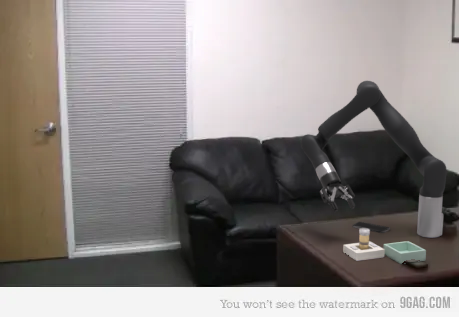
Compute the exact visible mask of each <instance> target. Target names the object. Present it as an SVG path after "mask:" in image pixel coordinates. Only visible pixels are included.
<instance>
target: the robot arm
mask: <svg viewBox="0 0 459 317" xmlns="http://www.w3.org/2000/svg"><path fill="white" fill-rule="evenodd" d="M379 87H380V86H378V84H377V83H375V82H374V81H371V80H364V81H361V82H360V83H358V85H357V88H356V94H355V95H354V97H353V98H352V99H351V100H350V101H349V102H348V103H347V104H346V105H344V106H343V107H342V108H341V109H339V110H338V111H336V112H334V113H333V114H331V115H330V116H329V117H328V118H326V119H325V120H324V122H322V123H321V124H320V125H319V126H318V127H317V131H318V132H317V134H316V135H313V134H310V133H309V134H308V133H307V134H305V135H303V136H302V137H301V139H300V147H301V150H302V151H303V152H304V154H305V155H306V157H307V158H308V159H309V161H310V162H311V164H312V166H313V168H314V171H315V172H316V175H317V178H318V179H319V182H320V183H321V186H322V188H321V190H320V191H319V194H320V197H321V199H322V201H323V203H324V204H325V205H326V204H328V205H329V206H330V208H331V210H332V211H333V213H336V212H338V210H339V207H338V205H337V203H336V201H335V199H337V198H340V199H342V200H343V199H344V200H345V201H347V204H348V206H349V208H350V209H351V210H354V209H355V207H356V203H355V202H354V200H353V199H354V198H355V196H356V194H355V193H354V192H353V190H352V188H351V186H350V184H346V185H343V184H342V180H341V179H340V176H339V174H338V172H337V171H336V169H335V167H334V166H333V164H332V162H331V160H330V158H329V157H328V155H327V154H326V153H325V152H324V151H323V150H324V149H325V147H326V145H327V144H329V142H330V140H331V139H332V138H333V137H335V135H336V134H337V133H338V132H340V131H342V129H343V128H344V127H345V126H347V124H349V123H350V122H351V121H353V119H355V118H356V117H358V116H359V115H361V114H362V113H363V112H365V111H367V110H368V109H370V110H371V111H372V112H373V114H374V115H375V116H376V117H377V119H378V122H379V123H380V125H381V127H382V128H383V129H384V131H385V132H386V133H387V135H388V136H389V137H390V138H391V139H392V141H393V142H394V143H395V144H396V145H397V146H398V147H399V148H400V149H401V151H403V153H405V154H406V155H407V156H408V157H409V158H410V160H411V161H412V162H413V163H414V166H415V167H416V169H417V170H418V171H419V173H420V175H422V176H423V181H422V186H421V187H420V188H419V195H418V196H419V197H418V211H417V212H418V213H417V215H418V216H417V229H416V230H417V231H416V234H417V235H418V236H420V237H423V238H433V239H434V238H440V236H443V229H444V228H443V227H444V226H443V225H444V213H443V197H444V196H443V195H444V192H445V188H446V181H447V173H448V172H447V166H446V163H445V162H444V161H443V160H441V159H440V158H438V157H435V156H434V155H433V154H432V153H431V152H430V151H429V150H428V149H427V148H426V147H425V146H424V145H423V143H422V142H421V140H420V138H419V135H418V134H417V131H415V129H414V127H413V126H412V125H411V124H410V123H409V121H408V120H407V119H406V118H405V117H404V116H403V115H402V114H401V112H399V111H398V110H397V109H396V108H395V107H394V106H393V105H392V104H391V103H390V102H389V101H388V99H387V98H386V97H385V94H383V92H382V91H381V89H380V88H379Z"/></svg>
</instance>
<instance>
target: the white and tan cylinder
mask: <svg viewBox="0 0 459 317" xmlns="http://www.w3.org/2000/svg"><path fill="white" fill-rule="evenodd" d="M358 229H359V228H358ZM358 232H359V233H358V234H359V235H358V236H359V240H358V243H359V249H360V250H366V249H369V242H370V234H371V231H370V230H369V229H367V228H361V229H359V230H358Z"/></svg>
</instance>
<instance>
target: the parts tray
mask: <svg viewBox="0 0 459 317" xmlns="http://www.w3.org/2000/svg"><path fill="white" fill-rule="evenodd" d="M383 249H385V254H384V256H386V257H388V258H389V259H391V260H392V261H394V262H397V263H398V264H400V265H403V264H402V263H403V262H404V261H406V260H411V259H415V260H420V261H419V262H424V261H426V260H427V259H426V256H427V250H426V249H424V248H423V247H421V246H419V245H417V244H415V243H412V242H411V241H409V240H407V241H400V242H399V241H398V242H391V243H383Z"/></svg>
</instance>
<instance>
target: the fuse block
mask: <svg viewBox="0 0 459 317" xmlns="http://www.w3.org/2000/svg"><path fill="white" fill-rule="evenodd" d="M342 248H343V250H342V253H344V254H345V253H346V254H345V255H347V256H348V255H349V256H348V257H349V258H351V259H353V260H354V261H356V262H358V261H365V260H373V259H380V258H381V259H382V258H385V255H384V254H385V249H384V247H381V246H379V245H377V244H375V243H374V242H372V241H369V249H366V250H360V249H359V242H354V243H346V244H343V247H342Z"/></svg>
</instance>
